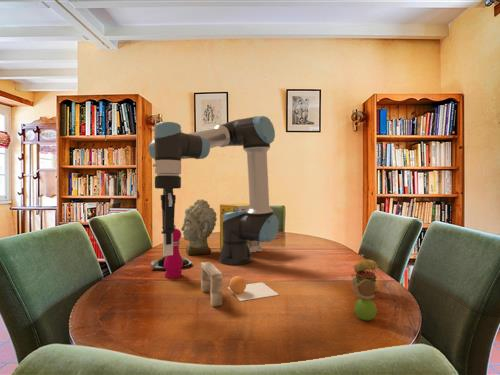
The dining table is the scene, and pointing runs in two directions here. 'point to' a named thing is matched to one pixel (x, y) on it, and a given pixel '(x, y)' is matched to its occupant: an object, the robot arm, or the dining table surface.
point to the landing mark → (255, 292)
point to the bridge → (211, 282)
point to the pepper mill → (174, 258)
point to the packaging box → (228, 208)
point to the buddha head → (198, 227)
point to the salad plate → (160, 264)
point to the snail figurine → (364, 299)
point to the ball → (237, 284)
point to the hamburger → (364, 274)
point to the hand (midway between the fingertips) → (168, 254)
